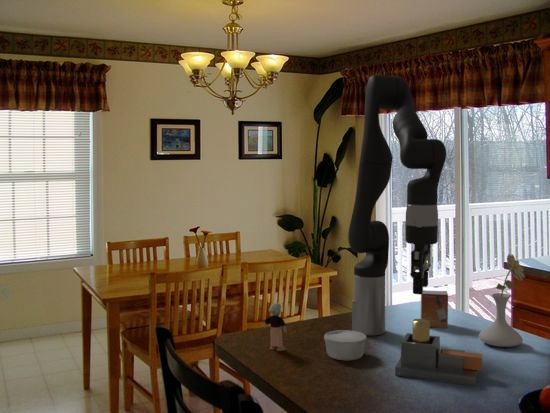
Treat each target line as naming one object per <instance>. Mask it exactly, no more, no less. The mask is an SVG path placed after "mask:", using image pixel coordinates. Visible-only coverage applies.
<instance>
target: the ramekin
mask: <svg viewBox="0 0 550 413" xmlns="http://www.w3.org/2000/svg"><path fill="white" fill-rule="evenodd" d="M323 340H324V342H325V343H324V344H325V349H326V353H327V355H328V356H329V357H330V358H331V359H334V360H338V361H356V360H359V359H361V358H362V357H363V355H364V354H365V349H366V342H367V341H368V340H367V335H365V334H363V333H361V332H357V331H352V330H346V329H341V330H339V329H338V330H332V331H327V332H326V333H325V334H324V336H323Z"/></svg>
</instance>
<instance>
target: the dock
mask: <svg viewBox="0 0 550 413" xmlns="http://www.w3.org/2000/svg"><path fill="white" fill-rule="evenodd" d="M440 337H441V336H440V335H439V336H438V335H430V344H424V343H415V342H413V333H409V332H407V333H406V334H405V336H404V337H403V339H402V340H401V342H400V357H399V358H400V359H399V360H398V361H397V363H396V364H395V366H394V375H395V376H396V377H397V376H398V377H404V378H405V377H406V378H414V379H421V380H427V381H435V382H444V383H450V384H459V385H465V386H472V387H473V386H474V387H476V384H477V380H478V375H479V374H478V373H479V370H471V369H463V357H461V356H452V355H443V354H441V353H442V350H450V351H459V352H466V350H460V349H452V348H442V347H441V346H440V344H441V342H440V341H441V338H440Z"/></svg>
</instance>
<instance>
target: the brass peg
mask: <svg viewBox="0 0 550 413" xmlns="http://www.w3.org/2000/svg"><path fill="white" fill-rule="evenodd" d="M430 328H431V327H430V321H429V320H426V319H420V318H414V319H412V334H413V342H415V343H424V344H430V336H431V335H430V332H431V330H430Z"/></svg>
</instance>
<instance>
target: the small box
mask: <svg viewBox="0 0 550 413" xmlns="http://www.w3.org/2000/svg"><path fill="white" fill-rule="evenodd" d="M448 316H449V294H448V291H447V290H427V289H426V290H425V289H423V293H422V294H421V295H420V318H419V319H426V320H429V321H430V328H440V329H448V323H449V322H448V321H449V319H448V318H449V317H448Z"/></svg>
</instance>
